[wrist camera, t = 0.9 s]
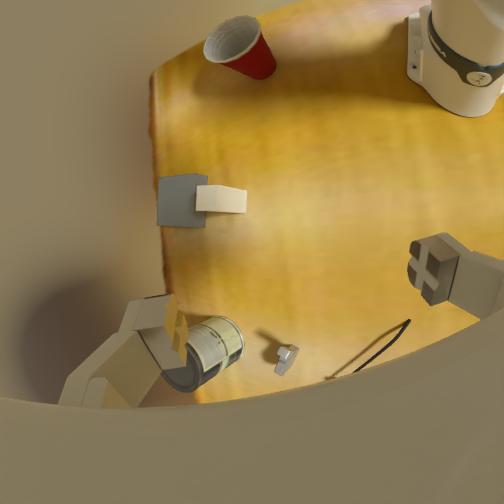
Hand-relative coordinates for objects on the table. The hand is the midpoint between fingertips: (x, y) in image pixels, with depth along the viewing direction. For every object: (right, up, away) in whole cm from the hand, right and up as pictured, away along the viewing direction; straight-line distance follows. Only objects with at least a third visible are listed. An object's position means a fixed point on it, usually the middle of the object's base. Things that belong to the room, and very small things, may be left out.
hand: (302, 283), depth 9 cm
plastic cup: (+1, +36, +38) cm, 52 cm away
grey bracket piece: (+6, -16, +39) cm, 43 cm away
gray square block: (-15, +11, +48) cm, 52 cm away
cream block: (-4, +10, +42) cm, 44 cm away
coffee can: (-7, -17, +47) cm, 50 cm away
